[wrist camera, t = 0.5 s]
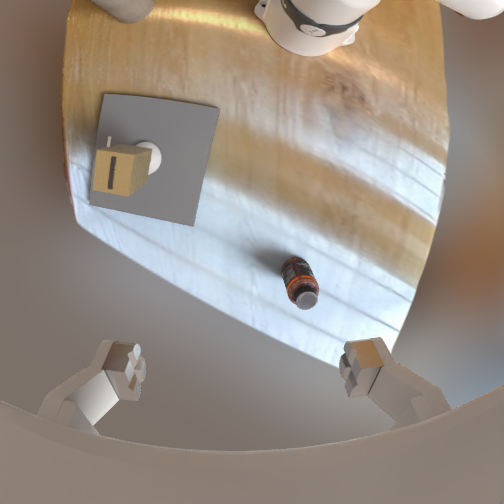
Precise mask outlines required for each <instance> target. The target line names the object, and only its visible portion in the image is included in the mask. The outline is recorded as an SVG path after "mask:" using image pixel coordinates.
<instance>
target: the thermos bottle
mask: <svg viewBox="0 0 504 504" xmlns="http://www.w3.org/2000/svg"><path fill="white" fill-rule="evenodd" d="M91 1H92V2H94V3H95V4H97V5H98V6H100V7H102V8H103V9H104V10H105V11H107V12H108V13H109V14H111V15H112V16H114V17H115V18H116V19H118V20H119V21H121V22H123V23H135V22H138V21H140V20H142V19H143V18H145V17H146V16H147V15H148V14H149V13H150V12H151V11H152V9H153V7H154V3H155V0H91Z"/></svg>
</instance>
